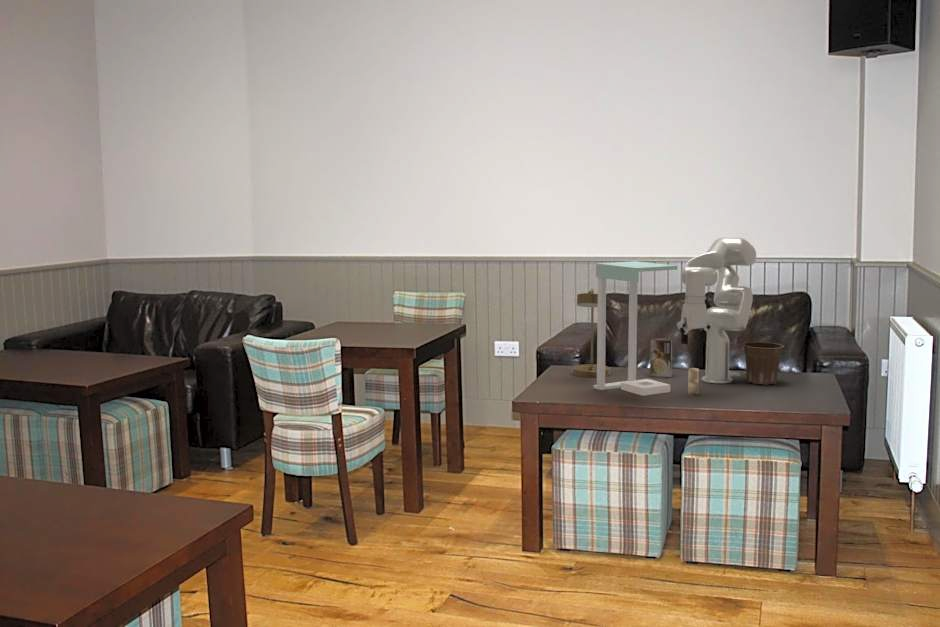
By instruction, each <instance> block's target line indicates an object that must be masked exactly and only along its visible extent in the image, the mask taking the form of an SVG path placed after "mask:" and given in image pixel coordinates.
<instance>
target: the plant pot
mask: <svg viewBox="0 0 940 627" xmlns="http://www.w3.org/2000/svg"><path fill="white" fill-rule="evenodd" d="M742 346H743V349H744V350H743V352H744V354H745V355H744V356H745V371H746V373H745V374H746V375H745V376H746V382H747V383H749V384H753V385H758V384H763V385H762V386H770V385H769V384H771V385H776V384H777V381H778V373H779V366H780V361H781V356H782V352H783V349H784V345H783V344H780V343H776V342H775V343H774V342H769V341H768V342H765V341H751V342H749V341H748V342H744V343H743V344H742ZM775 383H776V384H775Z"/></svg>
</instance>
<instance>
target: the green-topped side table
mask: <svg viewBox="0 0 940 627" xmlns="http://www.w3.org/2000/svg"><path fill="white" fill-rule="evenodd" d="M672 270H673V271H674V270H678V265H676V264H675V265H673V264H663V263H656V262H655V263H654V262H644V261H636V260H634V261H621V262H620V261H617V262H599V263H596V264H595V278H597V294H598V307H597V323H596V324H597V325H596V326H597V329H596V336H597V337H596V344H597V345H596V365H597V377H596V384H593V385H592V386H593V387H592V388H593V389H596V390H597V391H605V390H612V389H613V390H614V389H621V382H627V381H635V380H637V343H638V342H637V341H638V340H637V338H638V336H637V335H638V334H637V333H638V283H639V278H640V276H639V275H640V274H639V273H642V272H661V271H672ZM607 279H608V280H615V281H624V282H628V336H627V337H628V341H627V342H628V344H627V346H628V349H627V350H628V351H627V356H628V357H627V380H625V381H615V382H609V383H608V382H607V383H606V376H605V366H606V347H607V344H606V343H607V342H606V336H607V332H606V330H607V326H606V325H607V324H606V323H607Z"/></svg>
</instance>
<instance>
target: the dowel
mask: <svg viewBox="0 0 940 627" xmlns="http://www.w3.org/2000/svg"><path fill="white" fill-rule="evenodd" d="M699 375H700V368H697V367H689V368H688V380H687V382H688V383H687V384H688V386H687V393H688V395H694V394H696V395H699V386H700V384H699V383H700V382H699V378H700V376H699Z"/></svg>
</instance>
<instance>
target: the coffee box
mask: <svg viewBox="0 0 940 627" xmlns="http://www.w3.org/2000/svg"><path fill="white" fill-rule="evenodd" d="M649 365H650V368H649V369H650V372H649V373H650V375H649V376H650V377H658V378H659V377H663V378H671V377H672V376H673V339H672V338H661V337H659V338H658V337H657V338H656V337H655V338H653V337H652V338H651V339H650V364H649Z"/></svg>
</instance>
